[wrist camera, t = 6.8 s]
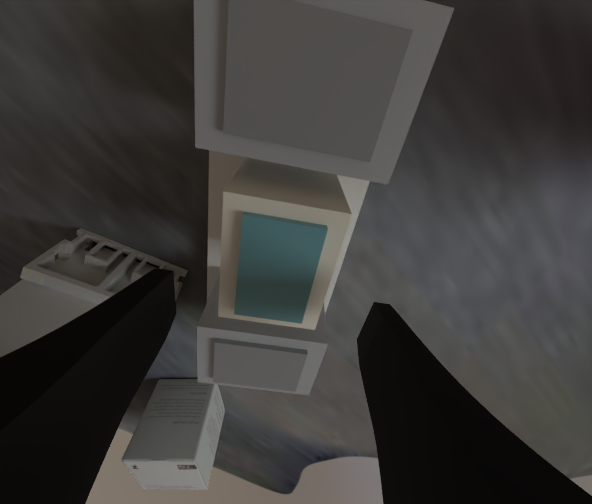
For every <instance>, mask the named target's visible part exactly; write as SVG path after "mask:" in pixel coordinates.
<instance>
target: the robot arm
mask: <svg viewBox="0 0 592 504" xmlns="http://www.w3.org/2000/svg"><path fill="white" fill-rule="evenodd" d="M175 315H176V302H175V287H174V272H173V271H171V270H164V269H158V268H155V269H153V270H152V271H150V272H148V273H147V274H145V275H144V276H142V277H141V278H139V279H138V280H136V281H135V282H133V283H132V284H130V285H128V286H127V287H125V288H124V289H122V290H121V291H119V292H118V293H116V294H115V295H113V296H111V297H110V298H108V299H107V300H105V301H103V302H102V303H100V304H99V305H97V306H95V307H94V308H92V309H90V310H89V311H87V312H85V313H83V314H82V315H80V316H78V317H77V318H75V319H73V320H71V321H70V322H68V323H66V324H64V325H63V326H61V327H59V328H57V329H56V330H54V331H52V332H50V333H48V334H46V335H44V336H42V337H41V338H39V339H37V340H35V341H33V342H31V343H29V344H27V345H25V346H23V347H21V348H19V349H17V350H15V351H13V352H10V353H8V354H6V355H4V356H2V357H0V504H85V503H86V500H87V498H88V495H89V493H90V490H91V488H92V486H93V484H94V481H95V479H96V477H97V474H98V472H99V470H100V467H101V465H102V462H103V460H104V458H105V456H106V453H107V451H108V449H109V447H110V444H111V442H112V440H113V438H114V435H115V433H116V431H117V429H118V427H119V424H120V422H121V420H122V418H123V416H124V414H125V412H126V410H127V408H128V406H129V404H130V402H131V401H132V399H133V397H134V395H135V393H136V392H137V390H138V388H139V386H140V385H141V383H142V381H143V379H144V377H145V376H146V374H147V372H148V370H149V369H150V367H151V365H152V363H153V362H154V360H155V358H156V356H157V354H158V353H159V351H160V349H161V347H162V345H163V343H164V342H165V340H166V337H167V335H168V333H169V330H170V328H171V325H172V323H173V320H174V318H175ZM357 344H358V356H359V366H360V371H361V375H362V380H363V385H364V389H365V394H366V398H367V403H368V407H369V412H370V416H371V420H372V425H373V429H374V435H375V440H376V446H377V453H378V460H379V468H380V476H381V484H382V494H383V503H384V504H592V496H591V495H590V494H588V493H587V492H586V491H584V490H583V489H582V488H581V487H579V486H578V485H576V484H575V483H574V482H573V481H571V480H570V479H569V478H568V477H566V476H565V475H564V474H562V473H561V472H560V471H558V470H557V469H556V468H555V467H553V466H552V465H551V464H550V463H548V462H547V461H546V460H545V459H543V458H542V457H541V456H540V455H538V454H537V453H536V452H535V451H534V450H532V449H531V448H530V447H529V446H528V445H526V444H525V443H524V442H523V441H522V440H521V439H519V438H518V437H517V436H516V435H515V434H513V433H512V432H511V431H510V430H509V429H508V428H506V427H505V426H504V425H503V424H502V423H501V422H500V421H499V420H497V419H496V418H495V417H494V416H493V415H492V414H491V413H490V412H489V411H488V410H487V409H486V408H485V407H483V406H482V405H481V404H480V403H479V402H478V401H477V400H476V399H475V398H474V397H473V396H472V395H471V394H470V393H469V392H468V391H467V390H466V389H465V388H464V387H463V386H462V385H461V384H460V383H459V382H458V381H457V380H456V379H455V378H454V377H453V376H452V375H451V374H450V373H449V372H448V371H447V370H446V368H445V367H444V366H443V365H442V364H441V363H440V362H439V361H438V360H437V359H436V358H435V356H434V355H433V354H432V353H431V352H430V351H429V350H428V348H427V347H426V346H425V345H424V344H423V343H422V341H421V340H420V339H419V338H418V337H417V336H416V334H415V333H414V332H413V331H412V330H411V328H410V327H409V326H408V325H407V324H406V322H405V321H404V320H403V319H402V318H401V317H400V315H399V314H398V313H397V312H396V311H395V310H394V308H393V307H392V306H391V305H390V304H384V303H377V302H374V303H373V305H372V308H371V310H370V312H369V314H368V316H367V318H366V321H365V323H364V325H363V327H362V329H361V332H360V334H359V336H358V338H357Z"/></svg>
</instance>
